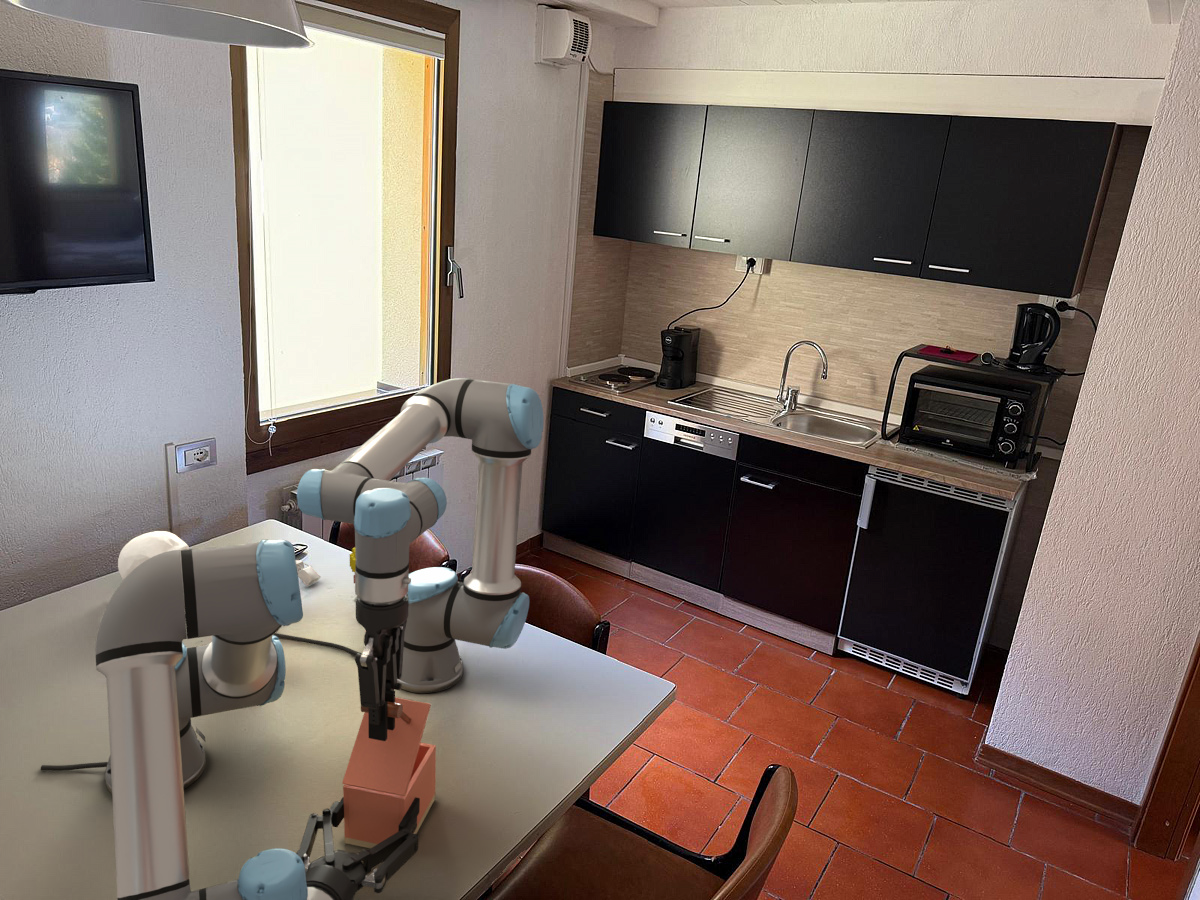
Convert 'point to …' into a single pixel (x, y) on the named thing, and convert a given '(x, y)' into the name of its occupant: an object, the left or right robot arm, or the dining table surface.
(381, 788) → the lid
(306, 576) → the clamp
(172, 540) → the skull
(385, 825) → the chest
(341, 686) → the dining table surface
